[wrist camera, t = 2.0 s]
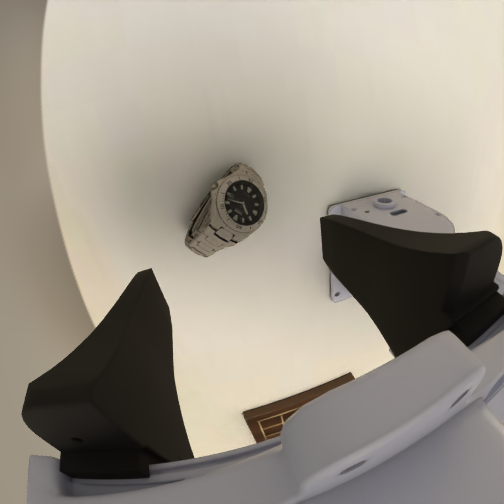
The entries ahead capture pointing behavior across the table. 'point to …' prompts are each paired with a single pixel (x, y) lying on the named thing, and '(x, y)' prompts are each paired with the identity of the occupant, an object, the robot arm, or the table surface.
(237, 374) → the table surface
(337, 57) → the table surface
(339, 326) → the table surface
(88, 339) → the robot arm
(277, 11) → the table surface
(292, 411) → the board
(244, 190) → the wristwatch
